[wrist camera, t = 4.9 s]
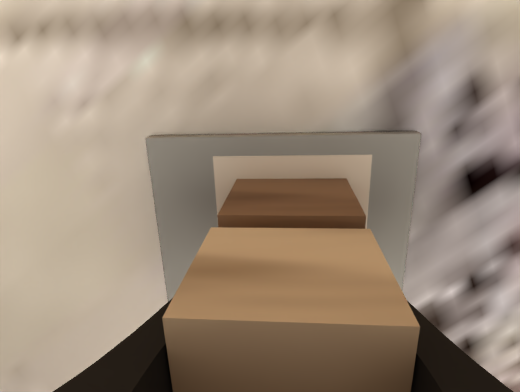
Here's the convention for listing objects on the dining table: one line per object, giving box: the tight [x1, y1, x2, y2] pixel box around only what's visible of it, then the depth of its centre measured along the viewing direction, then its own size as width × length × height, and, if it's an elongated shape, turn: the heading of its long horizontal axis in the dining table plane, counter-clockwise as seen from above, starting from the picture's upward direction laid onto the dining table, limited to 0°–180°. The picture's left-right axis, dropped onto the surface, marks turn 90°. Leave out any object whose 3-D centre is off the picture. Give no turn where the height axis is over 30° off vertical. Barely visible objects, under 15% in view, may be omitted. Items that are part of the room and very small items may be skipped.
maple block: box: [162, 227, 420, 392], centre depth 9 cm, size 4×4×4 cm
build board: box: [145, 131, 421, 302], centre depth 16 cm, size 14×11×1 cm
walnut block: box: [217, 178, 366, 229], centre depth 13 cm, size 4×4×4 cm
